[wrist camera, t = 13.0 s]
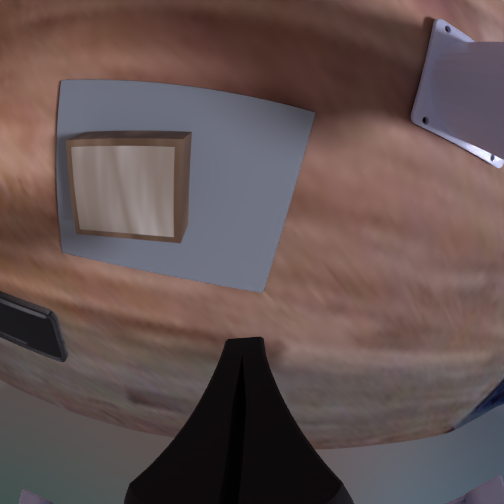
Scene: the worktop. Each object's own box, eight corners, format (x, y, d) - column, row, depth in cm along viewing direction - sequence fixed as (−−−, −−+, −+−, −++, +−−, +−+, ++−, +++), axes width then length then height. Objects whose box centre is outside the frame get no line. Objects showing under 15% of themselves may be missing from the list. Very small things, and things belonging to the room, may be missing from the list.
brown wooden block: (182, 139, 14) (65, 140, 14) (180, 243, 17) (75, 234, 17) (191, 131, 16) (86, 131, 16) (188, 224, 20) (92, 216, 19)
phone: (-40, 279, 22) (52, 316, 24) (-35, 274, 23) (57, 309, 25) (-21, 327, 26) (67, 365, 28) (-17, 321, 27) (71, 357, 29)
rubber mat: (313, 112, 16) (315, 112, 16) (262, 288, 23) (263, 292, 22) (65, 79, 14) (61, 80, 14) (65, 249, 21) (62, 252, 21)
